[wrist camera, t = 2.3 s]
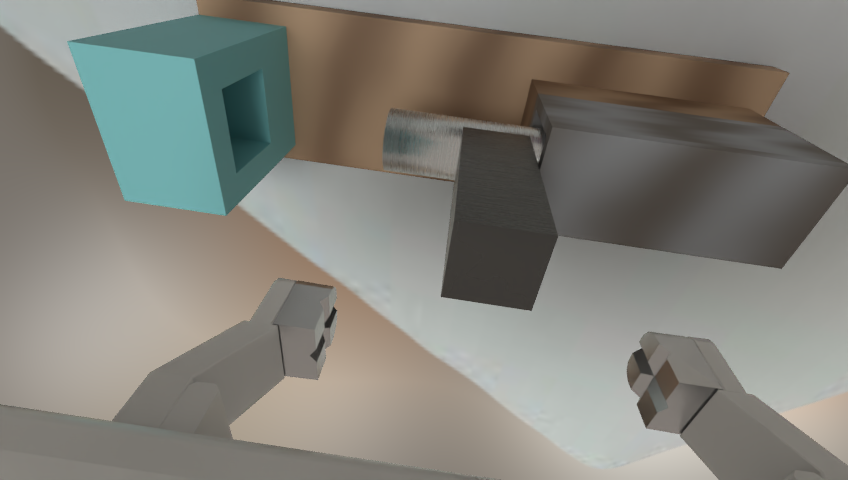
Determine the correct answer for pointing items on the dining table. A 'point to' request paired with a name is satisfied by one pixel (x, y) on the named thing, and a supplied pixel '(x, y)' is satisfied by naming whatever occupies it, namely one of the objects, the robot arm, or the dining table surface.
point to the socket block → (190, 108)
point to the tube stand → (570, 125)
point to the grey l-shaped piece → (482, 201)
